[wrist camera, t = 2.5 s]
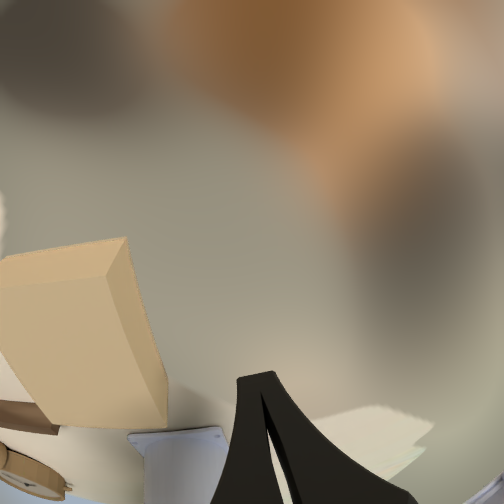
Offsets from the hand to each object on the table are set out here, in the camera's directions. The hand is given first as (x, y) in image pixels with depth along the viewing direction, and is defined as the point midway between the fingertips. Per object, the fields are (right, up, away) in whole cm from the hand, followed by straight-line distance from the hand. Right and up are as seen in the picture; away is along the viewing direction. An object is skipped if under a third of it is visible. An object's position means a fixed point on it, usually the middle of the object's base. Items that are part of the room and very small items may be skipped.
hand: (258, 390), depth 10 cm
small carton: (-10, +1, +5) cm, 11 cm away
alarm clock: (-31, -22, +11) cm, 40 cm away
